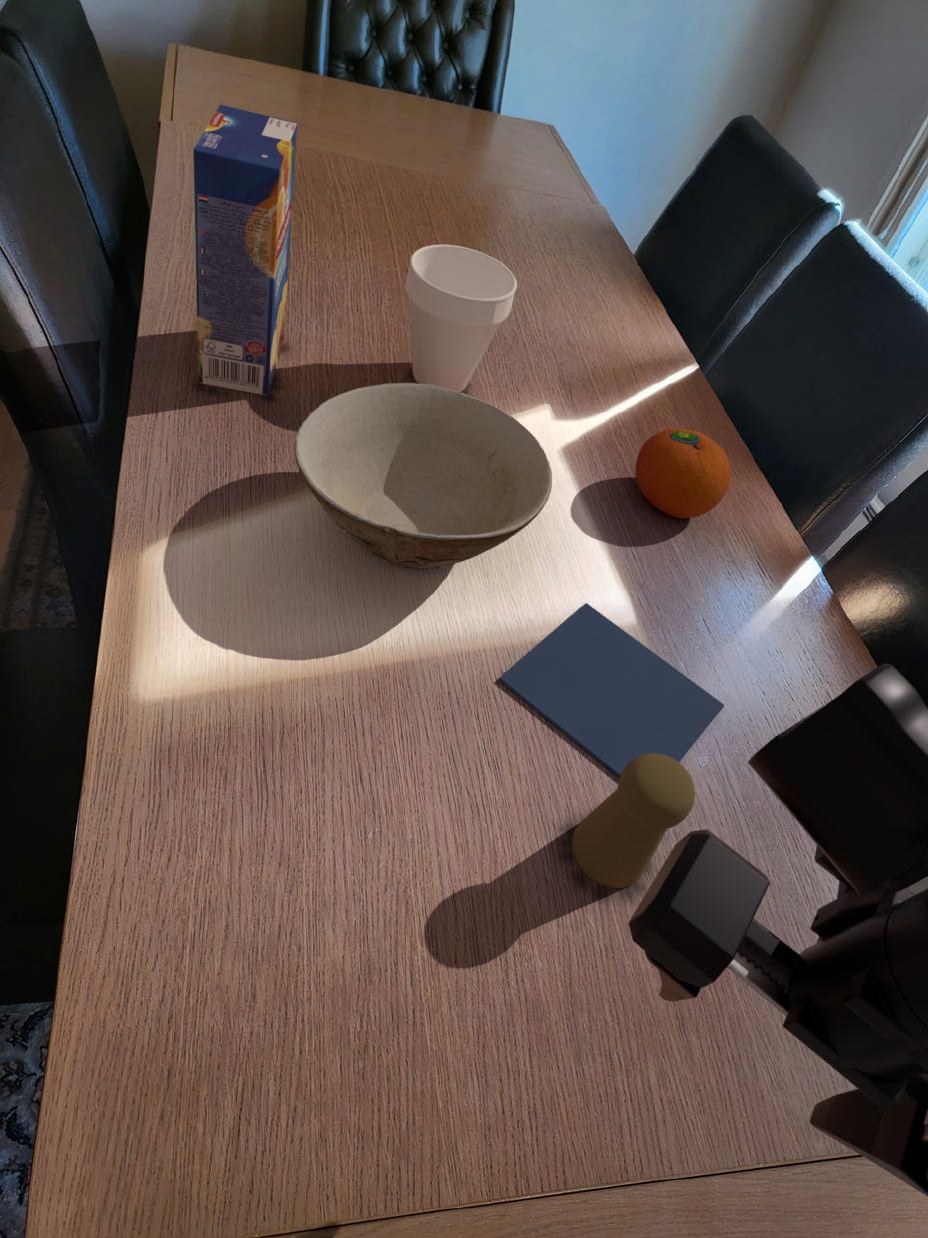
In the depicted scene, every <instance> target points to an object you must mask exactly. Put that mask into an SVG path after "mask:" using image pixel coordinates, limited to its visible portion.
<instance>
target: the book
mask: <svg viewBox="0 0 928 1238" xmlns="http://www.w3.org/2000/svg"><path fill="white" fill-rule="evenodd" d="M498 681H499V682H500V683H501V684H502V685H504V686H505V687H506V688H507V689H509V690H510V691H511V692H512V693H513V694H515V695H516V696H518V698H519V699H521V700H522V701H523V702H524V703H526V704H527V705H528V706H529V707H531V708H532V709H533V710H535V711H536V712H537V713H538V714H539V715H541V716H542V717H543V718H544V719H546V720H547V721H548V722H549V723H551V724H552V725H553V726H554V727H556V729H558V730H559V731H560V732H562V733H563V735H565V736H567V738H569V739H570V740H572V741H573V742H574V743H575V744H577V745H578V746H579V747H580V748H582V749H583V750H584V751H585V752H587V754H589V755H590V756H591V757H593V758H594V759H595V760H596V761H597V762H599V763H600V764H601V765H603V767H605V768H606V769H608V770H609V771H610V772H611V773H612V774H614V775H615V776H616V777H617V778H619V779H620V775H621V773H622V771H623V770H624V768H625V767H626V766H627V764H628V763H629V762H630V761H632V760H633V759H635V758H637V757H638V756H640V755H644V754H650V753H656V754H663V755H666V756H668V757H671V758H673V759H675V760H676V761H677V762H679V763H680V762H681V761H682V760H683V758H684V757H685V756H686V755H687V753H688V752H689V751H690V750H691V748H692V747H693V746H694V745H695V744H696V742H697V741H698V740H699V738H700V737H701V736H702V734H703V733H704V732H705V731H706V729H707V728H708V727H709V725H711V723H712V722H713V721H714V719H715V718H716V717H717V716H718V715H719V713H720V712H721V711H722V709H723V708H724V707H725V704H724V703H723V702H721V701H720V700H719V699H717V698H716V697H715V696H714V695H712V694H711V693H709V692H708V691H707V690H705V689H704V688H702V687H701V686H699V684H697V683H695V682H694V681H693V680H692V679H690V678H689V677H688V676H686V675H685V674H683V673H682V672H680V671H679V670H678V669H677V668H675V667H674V666H672V665H671V664H670V663H669V662H667V661H666V660H665V659H664V658H662V657H661V656H659V655H658V654H656V652H654V651H653V650H651V649H649V648H648V647H647V646H645V645H644V644H643V643H641V642H640V641H639V640H637V639H636V638H635V637H633V636H632V635H631V634H630V633H628V632H627V631H625V630H624V629H623V628H621V627H620V626H618V625H617V624H616V623H614V622H613V621H612V620H610V618H608V617H606V616H605V615H604V614H602V613H601V612H600V611H598V610H596V609H595V608H594V607H593V606H591V605H590V604H589V603H587V602H585V603H584V604H583V605H582V606H581V607H579V608H578V609H577V610H576V611H575V612H574V613H572V614H571V615H570V616H569V617H568V618H567V619H566V620H564V621H563V622H562V623H561V624H560V625H559V626H558V627H557V628H555V629H554V630H553V631H552V632H550V634H549V635H547V636H546V637H545V638H543V640H541V641H540V642H539V643H538V644H537V645H536V646H535V647H533V648H532V649H531V650H530V651H529V652H528V653H527V654H526V655H524V656H523V657H522V658H521V659H520V660H519V661H518V662H516V663H515V664H514V665H513V666H511V667H510V668H509V669H508V670H507V671H506V672H505V673H503V674H502V675H501V676H500V677H499V679H498Z"/></svg>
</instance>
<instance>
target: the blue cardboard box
mask: <svg viewBox="0 0 928 1238" xmlns="http://www.w3.org/2000/svg"><path fill="white" fill-rule="evenodd" d="M297 133H298V122H296V121H290V120H288V119H287V120H286V119H282V118H278V117H274V116H270V115H265V114H261V113H257V112H254V111H249V110H244V109H241V108H236V107H232V106H228V105H224V104H219V106H218V107H217V109H216V111H215V112H214V114H213V116H212V118H211V119H210V121H209V123H208V124H207V126H206V127H205V128H204V131H203V133H202V134H201V136H200V137H199V139H198V141H197V142H196V144H195V146H194V147H193V150H192V151H193V184H194V185H193V187H194V189H193V190H194V229H195V230H194V231H195V233H194V234H195V236H194V237H195V239H194V240H195V277H196V280H195V281H196V282H195V283H196V321H197V322H196V323H197V326H196V327H197V361H198V362H197V367H198V369H197V371H198V384H203V385H208V386H213V387H219V388H223V389H228V390H229V389H230V390H234V391H235V390H236V391H241V392H246V393H252V394H257V395H260V396H261V395H263V396H269V393H270V390H271V386H272V383H273V380H274V376H275V372H276V369H277V365H278V361H279V358H280V354H281V352H282V351H281V350H282V347H283V344H284V340H285V327H286V326H285V325H286V312H287V311H286V309H287V293H288V279H289V278H288V276H289V264H290V263H289V262H290V247H291V245H290V244H291V230H292V214H293V198H294V181H295V167H296V150H297Z"/></svg>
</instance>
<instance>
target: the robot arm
mask: <svg viewBox="0 0 928 1238" xmlns="http://www.w3.org/2000/svg"><path fill="white" fill-rule="evenodd" d="M747 763H748V765H750V767H751V768H752V770H754V772H755V773H756V775H757V776H759V777H760V779H761V781H763V783H764V784H765V785H766V786H767V787H768V789H770V791H771V792H772V793H773V794H774V795H775V797H776V798H777V799H778V800H779V802H780V803H781V804H782V805H783V807H785V809H786V810H787V811H788V813H790V814H791V816H792V817H793V818H794V819H795V821H796V822H797V823H798V824H799V826H800V827H801V828H802V830H803V831H804V832H805V833H806V834H807V835H808V836H809V838H811V840H812V841H813V842H814V843H815V844H816V848H815V854H814V862H815V863H816V864H817V865H819V867H821V868H822V869H823V870H825V871H826V872H827V873H829V874H830V875H831V876H833V877H834V878H835V879H836V880H837V881H838V888H837V895H836V899H834V900H832V901H830V902H828V903H826V904H825V905H823V906H821V907H819V908H817V911H816V914H815V916H814V918H813V921H812V922H811V925H810V927H809V928H810V930H811V932H813V933H814V934H815V935H817V937H818V938H817V940H816V942H815V943H814V944H812V945H810V946H808V947H806V948H805V949H803V950H802V951H801V952H800V953H798V952H797V951H795V949H793V948H792V947H790V946H789V945H788V944H786V943H785V942H784V941H783V940H782V939H780V938H779V937H778V936H777V935H776V934H774V933H773V932H772V931H770V929H768V928H767V927H765V926H764V925H763V924H762V923H760V921H758V920H757V919H755V916H756V914H757V912H758V909H759V907H760V905H761V903H762V902H763V899H764V898H765V895H766V893H767V891H768V889H769V887H770V884H771V882H770V879H769V877H768V876H767V875H766V874H765V873H764V872H763V871H761V870H760V869H759V868H758V867H756V866H755V865H754V864H753V863H751V862H750V861H749V860H747V859H746V858H745V857H743V856H742V855H741V854H740V853H739V852H737V851H736V850H735V849H734V848H732V847H731V846H730V845H728V843H726V842H725V841H723V840H722V839H721V838H719V837H718V836H717V835H716V834H714V833H713V832H712V831H711V830H710V829H707V828H706V829H700V830H699V829H698V830H691V831H690V832H688V833H687V834H686V835H685V836H683V837H682V838H681V839H680V840H679V841H678V842H676V843H675V844H674V845H673V848H672V849H671V851H670V852H669V854H668V856H667V858H666V859H665V861H664V863H663V865H662V866H661V867H660V869H659V871H658V873H657V875H656V876H655V878H654V879H653V881H652V883H651V884H650V886H649V888H648V890H647V891H646V893H645V895H644V896H643V898H642V900H641V902H639V904H638V906H637V907H636V909H635V910H634V913H633V914H632V916H631V917H630V919H629V921H628V928H629V932H630V935H631V939H632V942H633V943H635V944H636V945H637V946H639V948H640V949H641V950H643V951H644V955H645V958H646V959H647V961H648V962H649V963H650V964H651V965H652V966H654V967H655V969H657V971H658V973H659V974H658V975H659V978H660V982H661V986H660V989H659V993H658V996H659V997H660V998H661V999H662V1000H664V1001H665V1002H666V1001H667V1002H670V1003H671V1002H672V1003H674V1002H679V1001H685V1000H690V999H696V998H697V997H698V995H699V993H700V992H701V989H704V988H705V987H707V986H709V985H711V984H713V983H715V982H716V981H717V980H718V979H719V977H721V975H722V974H723V973H724V971H725V970H726V969H728V970H729V971H730V972H732V973H733V974H734V975H735V976H736V977H738V978H739V979H740V980H741V981H743V982H744V984H746V985H747V986H749V987H750V988H751V989H752V990H753V991H755V992H756V993H757V994H758V995H759V996H761V997H762V998H763V999H765V1000H766V1001H767V1002H768V1003H769V1004H770V1005H772V1006H773V1007H774V1008H776V1009H777V1010H778V1011H779V1012H780V1013H781V1014H783V1015H784V1016H785V1018H784V1021H783V1023H782V1027H783V1028H784V1029H785V1030H786V1031H788V1032H789V1033H790V1034H791V1035H792V1036H793V1037H795V1038H796V1039H797V1040H798V1041H799V1042H801V1043H802V1044H803V1045H804V1046H806V1047H807V1048H808V1049H809V1050H810V1051H812V1052H813V1053H814V1054H815V1055H816V1056H817V1057H818V1058H820V1059H821V1060H822V1061H824V1062H825V1064H827V1065H829V1066H830V1067H831V1068H832V1069H833V1070H834V1071H836V1072H837V1073H838V1074H839V1075H841V1076H842V1077H843V1078H844V1079H845V1080H847V1081H848V1082H849V1083H850V1084H852V1086H854V1087H855V1089H852V1090H849V1091H845V1092H840V1093H837V1094H834V1095H831V1096H830V1097H827V1098H826V1099H823V1100H821V1101H820V1102H817V1103H816V1104H815V1105H814V1107H813V1109H812V1112H811V1114H810V1117H809V1123H810V1125H811V1126H812V1127H813V1128H815V1129H816V1130H818V1131H819V1132H821V1133H823V1134H825V1135H826V1136H828V1137H830V1138H832V1139H833V1140H835V1141H836V1142H838V1143H840V1144H842V1145H843V1146H845V1147H846V1148H848V1149H849V1150H852V1151H853V1152H854V1153H856V1154H858V1155H860V1156H862V1157H863V1158H865V1159H867V1160H868V1161H870V1162H871V1163H873V1164H875V1165H876V1166H878V1167H879V1168H882V1169H883V1170H884V1171H886V1172H887V1173H889V1174H891V1175H893V1176H894V1177H895V1178H897V1179H899V1180H900V1181H901V1182H903V1183H904V1184H906V1185H909V1187H912V1188H913V1189H915V1190H917V1191H918V1192H920V1193H921V1194H923V1195H925V1196H926V1197H928V706H927V705H926V704H925V702H924V701H923V699H922V698H921V695H920V694H919V692H918V690H916V688H915V687H914V686H913V685H912V684H911V682H909V681H908V680H907V678H905V677H904V676H903V674H902V673H901V672H900V671H899V670H898V669H896V667H895V666H894V665H893V664H891V663H885V662H884V663H882V664H880V665H878V666H877V667H875V668H874V669H872V670H871V671H869V672H868V673H866V674H865V675H863V676H862V677H860V678H858V679H857V680H855V681H854V682H853V683H851V684H850V685H849V686H848V687H847V688H846V689H845V690H843V692H841V693H840V694H839V695H838V696H836V697H835V698H832V699H831V700H830V701H828V702H826V703H825V704H823V705H822V706H821V707H819V708H818V709H816V710H814V711H813V712H811V713H809V714H808V715H806V716H805V717H803V718H802V719H800V720H799V721H797V722H796V723H794V724H792V725H791V726H789V727H788V728H786V729H785V730H783V731H782V732H780V733H779V734H776V736H774V737H773V738H771V739H770V740H769V741H768V742H767V743H766V744H764V745H763V747H761V748H760V749H759V750H758V751H757V752H756V753H755V754H753V756H752V757H750V759H748V761H747Z"/></svg>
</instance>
